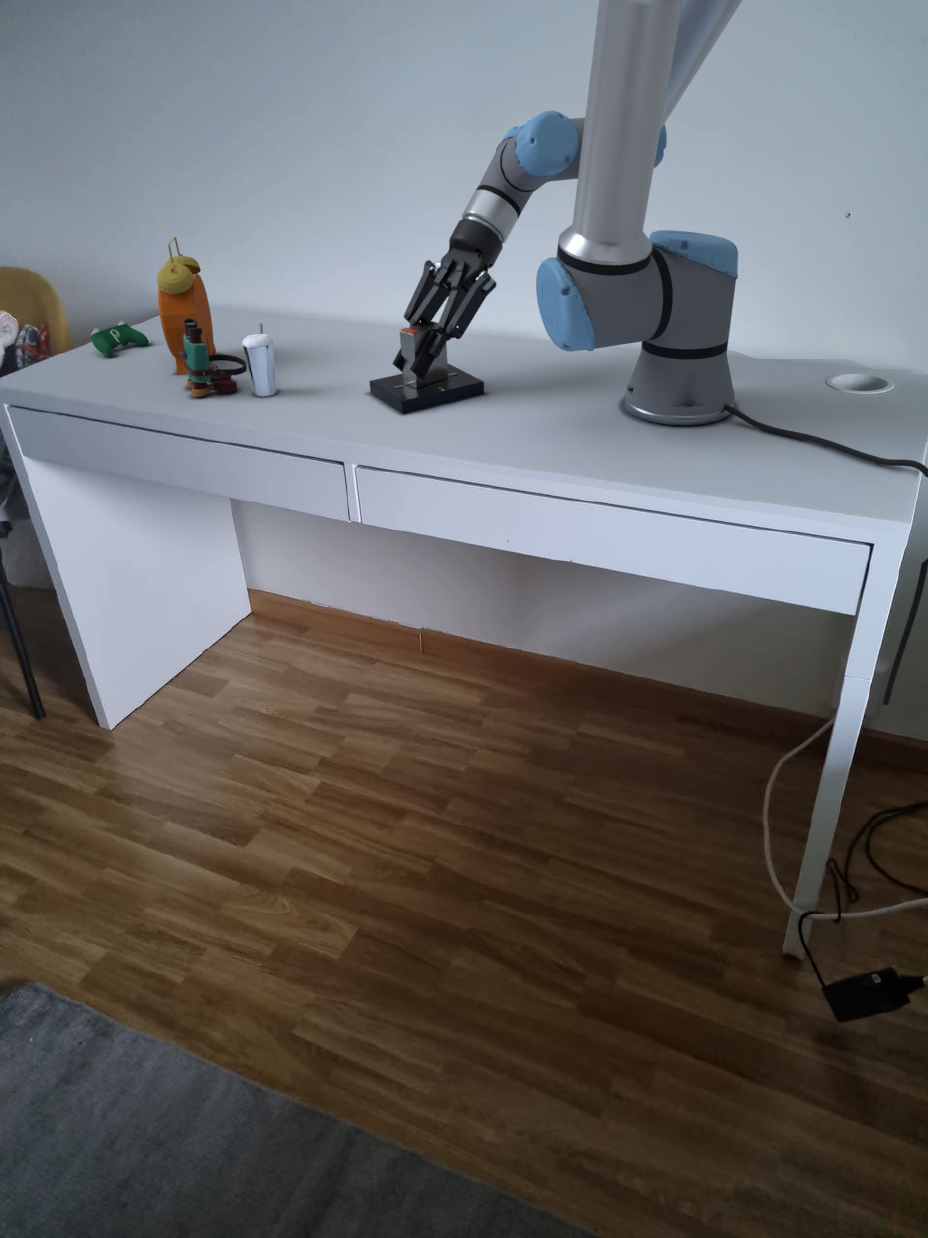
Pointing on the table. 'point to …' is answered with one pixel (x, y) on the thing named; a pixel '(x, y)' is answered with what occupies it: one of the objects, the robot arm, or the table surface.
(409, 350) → the red-capped silver block
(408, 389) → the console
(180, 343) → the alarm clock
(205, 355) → the binoculars
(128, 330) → the gaming controller
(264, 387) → the milkshake
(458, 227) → the robot arm
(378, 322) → the table surface
